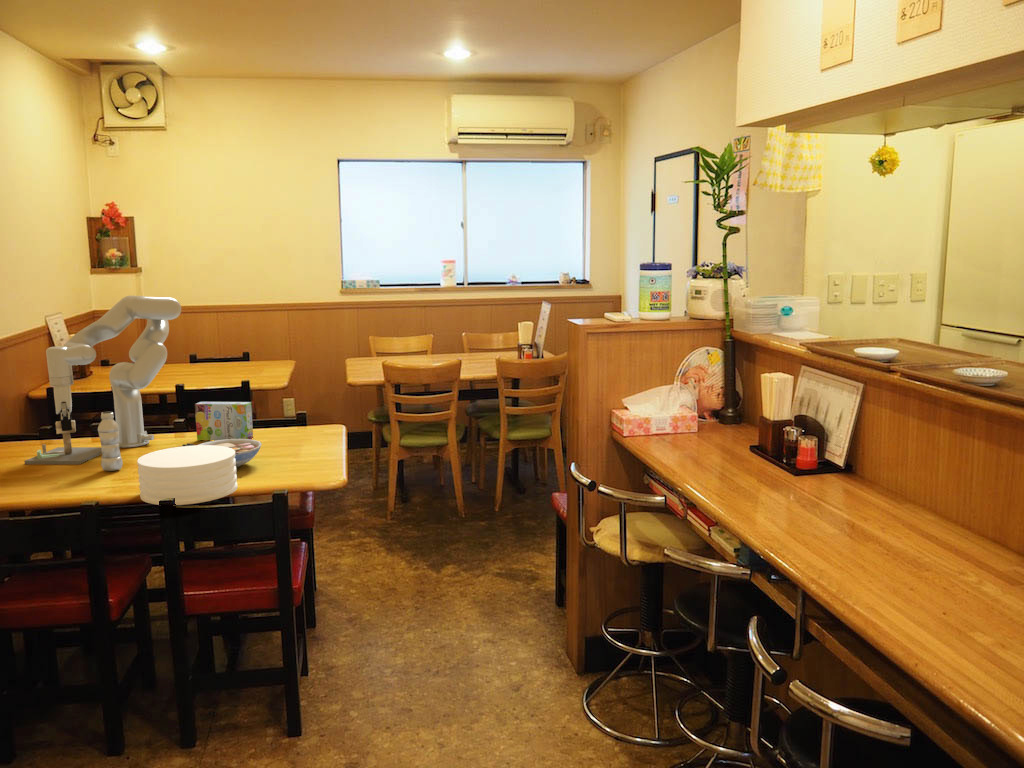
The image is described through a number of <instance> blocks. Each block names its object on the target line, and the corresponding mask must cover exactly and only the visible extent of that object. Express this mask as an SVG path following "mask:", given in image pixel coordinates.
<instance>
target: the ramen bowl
mask: <svg viewBox="0 0 1024 768" xmlns="http://www.w3.org/2000/svg"><path fill="white" fill-rule="evenodd" d="M194 445H195V444H193V443H189V442H188V443H186V444H182V445H181V447H182V446H194ZM198 445H217V446H225V447H229V448H232V449H234V450H235V459H236V465H235V466H236V469H237V467H238V468H239V467H241V466H242V465H245V464H247V463H249V462H250V461H252V460H253V458H254V457H256V455H257V454H258V452H259V451H260V449H261V447H262V442H261V441H259V440H256V439H253V440H252V439H225V440H216V441H204V442H203V443H199V444H198Z"/></svg>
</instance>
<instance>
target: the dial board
mask: <svg viewBox="0 0 1024 768" xmlns="http://www.w3.org/2000/svg"><path fill="white" fill-rule="evenodd" d="M57 451H64V446H63V447H61V446H60V447H55V448H52V449H51V450H48V451H47V452H57ZM100 454H102V447H95V446H93V447H91V446H90V447H88V446H85V447H84V446H83V447H79V446H78V447H77V446H76V447H74V446H72V453H71V454H65V453H61V454H51V455H43V453H42V449H38V450H37V451H36V456H33V457H31V458H28V459H25V460H24V461H23V462H24V465H81V463H82V464H84V463H86V462H88V461H87V460H89V461H90V459H91V460H92V458H93V459H95V458H97V457H99V455H100ZM96 456H97V457H96ZM100 456H101V455H100ZM94 457H95V458H94ZM85 461H86V462H85ZM83 462H84V463H83Z"/></svg>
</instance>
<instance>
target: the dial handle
mask: <svg viewBox="0 0 1024 768" xmlns="http://www.w3.org/2000/svg"><path fill="white" fill-rule="evenodd" d="M71 424H72V430H70V431H62V427H61V420H58V421H55V430H56V431H55V432H56V435H59V434H62V440H63V441H62V442H63V447H64V451H57V452H48V451H47V447H46V446H47V445H46V444H45V443H44V444H41V451H42V454H43V455H51V454H61V453H65V454H71V453H72V447H73V445H72V437H71V433H76V431H77V428H76V426H77V425H76V420H75V419H72V420H71Z"/></svg>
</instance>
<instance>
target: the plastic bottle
mask: <svg viewBox="0 0 1024 768" xmlns="http://www.w3.org/2000/svg"><path fill="white" fill-rule="evenodd" d="M100 414H101V415H100V419H101V421H100V422H99V424H98V426H97V432H98V437H99V439H100V440H99V441H100V446H101V447H102V455H101V459H100V464H101V465H100V466H101V469H102V470H103V471H104V472H114V471H118V470H121V469H122V467H123V462H124V461H123V459H122V456H121V450H120V449H121V448H120V447H119V426H118V424H117V423H116V420H114V417H115V415H114V412H113V411H104V412H101V413H100Z"/></svg>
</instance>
